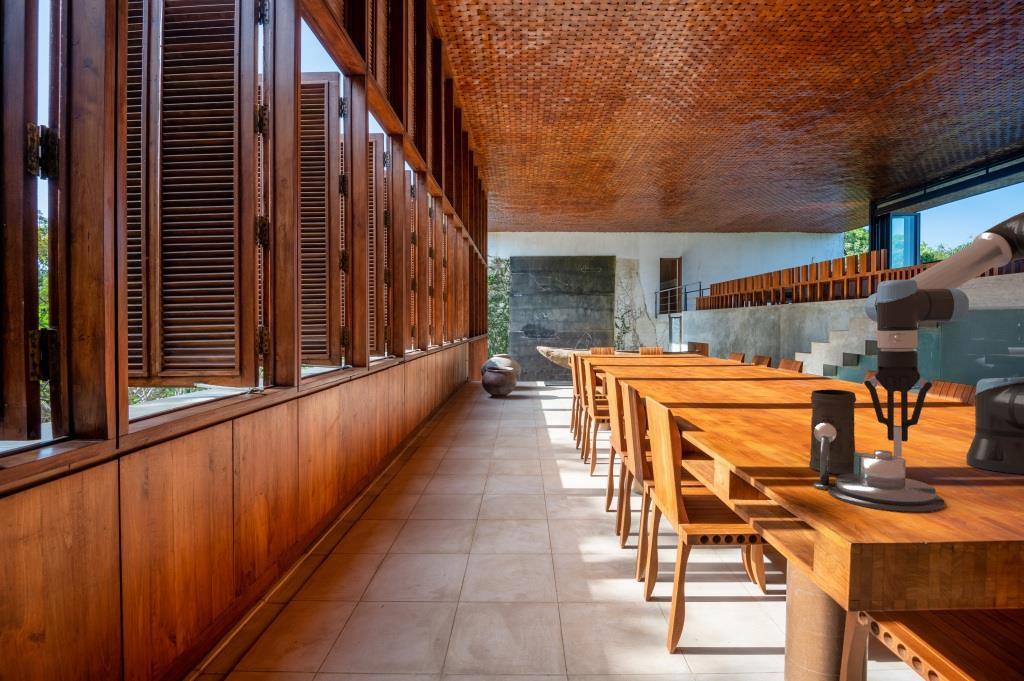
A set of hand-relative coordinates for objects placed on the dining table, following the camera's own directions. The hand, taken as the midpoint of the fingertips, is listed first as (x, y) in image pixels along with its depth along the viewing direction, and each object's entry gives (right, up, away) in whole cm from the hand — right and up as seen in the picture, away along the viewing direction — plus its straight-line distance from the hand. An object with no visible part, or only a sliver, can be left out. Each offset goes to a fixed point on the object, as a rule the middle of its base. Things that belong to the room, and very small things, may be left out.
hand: (897, 455), depth 134 cm
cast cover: (-8, -5, -8) cm, 12 cm away
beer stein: (-4, -7, +19) cm, 21 cm away
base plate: (-7, -8, -7) cm, 13 cm away
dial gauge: (-16, -7, +1) cm, 18 cm away
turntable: (-7, -7, -5) cm, 11 cm away
